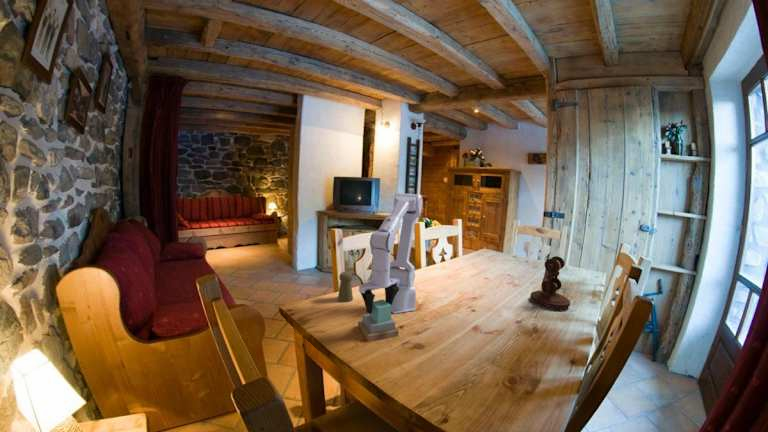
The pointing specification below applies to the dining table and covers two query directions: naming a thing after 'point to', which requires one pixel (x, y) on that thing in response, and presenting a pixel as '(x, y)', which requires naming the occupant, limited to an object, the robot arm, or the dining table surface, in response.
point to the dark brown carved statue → (551, 285)
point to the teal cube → (381, 311)
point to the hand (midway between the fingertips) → (378, 309)
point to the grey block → (378, 324)
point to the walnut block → (376, 335)
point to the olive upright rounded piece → (345, 287)
